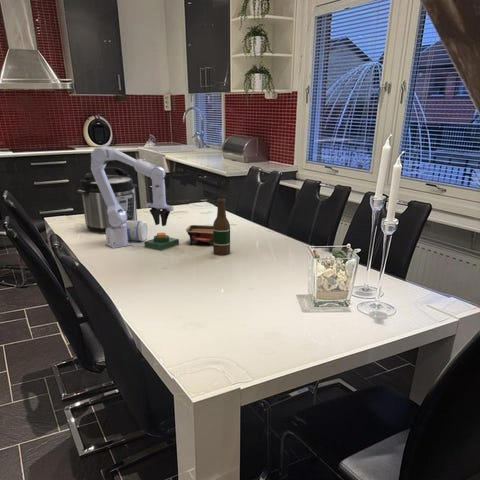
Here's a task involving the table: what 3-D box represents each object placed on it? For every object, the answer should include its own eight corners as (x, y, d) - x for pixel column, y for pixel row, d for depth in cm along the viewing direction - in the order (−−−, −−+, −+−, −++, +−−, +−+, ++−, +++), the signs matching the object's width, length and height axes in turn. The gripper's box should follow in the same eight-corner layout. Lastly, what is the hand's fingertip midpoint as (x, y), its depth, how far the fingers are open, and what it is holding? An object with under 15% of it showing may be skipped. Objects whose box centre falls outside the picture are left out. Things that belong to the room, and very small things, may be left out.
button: (161, 238, 216) (161, 235, 215) (155, 237, 217) (155, 233, 217) (167, 237, 219) (167, 233, 218) (161, 235, 221) (160, 232, 220)
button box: (160, 250, 212) (160, 241, 210) (144, 247, 217) (143, 237, 215) (179, 244, 222) (178, 235, 220) (163, 241, 227) (162, 232, 225)
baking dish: (217, 251, 219) (220, 231, 215) (181, 243, 221) (183, 222, 217) (223, 246, 232) (227, 226, 228) (189, 238, 234) (192, 218, 230)
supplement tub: (142, 243, 224) (113, 242, 226) (149, 238, 232) (121, 236, 235) (139, 223, 219) (110, 222, 222) (147, 218, 228) (119, 217, 230)
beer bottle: (228, 255, 206) (228, 200, 196) (211, 254, 207) (210, 199, 197) (231, 251, 213) (232, 197, 203) (215, 250, 214) (214, 196, 204)
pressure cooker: (80, 236, 234) (72, 170, 221) (85, 223, 259) (77, 164, 246) (141, 233, 241) (136, 169, 227) (140, 222, 266) (135, 163, 253)
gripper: (177, 195, 210) (178, 225, 215) (152, 192, 217) (154, 221, 222) (166, 197, 204) (168, 228, 210) (142, 194, 211) (144, 224, 217)
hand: (160, 225), depth 216 cm, fingers open, 3 cm apart
